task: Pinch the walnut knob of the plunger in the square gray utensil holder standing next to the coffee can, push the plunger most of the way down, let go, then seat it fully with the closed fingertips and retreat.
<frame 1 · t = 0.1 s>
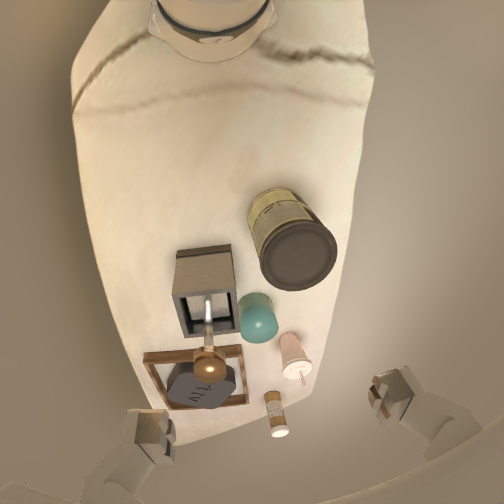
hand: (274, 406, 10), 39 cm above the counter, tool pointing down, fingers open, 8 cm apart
wooden square frame: (200, 377, 68), on the counter
streaming box: (199, 375, 68), resting in wooden square frame
teal pillar candle: (254, 306, 58), on the counter
coffee can: (277, 215, 49), on the counter
square gray utensil holder: (207, 270, 52), on the counter
smoothie: (287, 337, 64), on the counter
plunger: (208, 332, 39), point 16 cm above the counter, slide at 0.0 cm
sprinkles bottle: (271, 394, 76), on the counter
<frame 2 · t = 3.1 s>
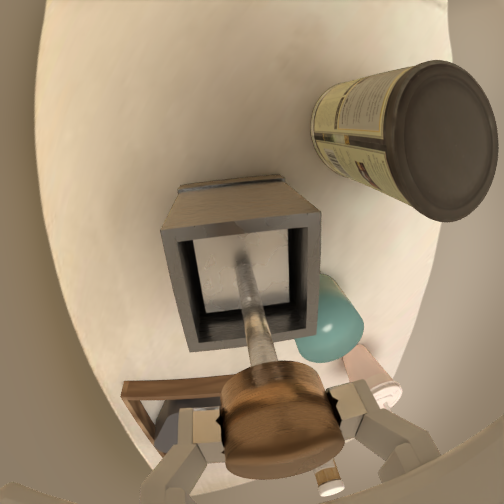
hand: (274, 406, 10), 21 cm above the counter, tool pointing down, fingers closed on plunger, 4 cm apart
wooden square frame: (213, 420, 41), on the counter
streaming box: (205, 414, 41), resting in wooden square frame
teal pillar candle: (311, 299, 33), on the counter
coffee can: (356, 129, 26), on the counter
square gray utensil holder: (234, 226, 29), on the counter
smoothie: (353, 353, 39), on the counter
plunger: (257, 330, 14), point 16 cm above the counter, slide at 0.0 cm, touching gripper
sprinkles bottle: (315, 437, 48), on the counter
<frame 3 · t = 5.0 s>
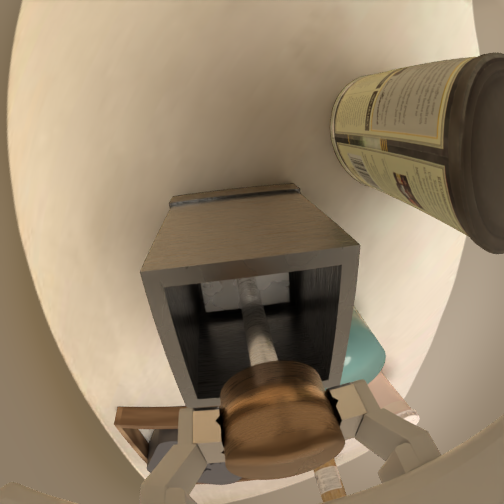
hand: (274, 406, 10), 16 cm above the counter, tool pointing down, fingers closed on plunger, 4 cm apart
wooden square frame: (215, 444, 37), on the counter
streaming box: (201, 437, 36), resting in wooden square frame
teal pillar candle: (325, 324, 29), on the counter
coffee can: (381, 130, 21), on the counter
square gray utensil holder: (238, 245, 24), on the counter
smoothie: (366, 376, 34), on the counter
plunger: (257, 329, 14), point 11 cm above the counter, slide at 5.0 cm, touching gripper
sprinkles bottle: (321, 455, 44), on the counter
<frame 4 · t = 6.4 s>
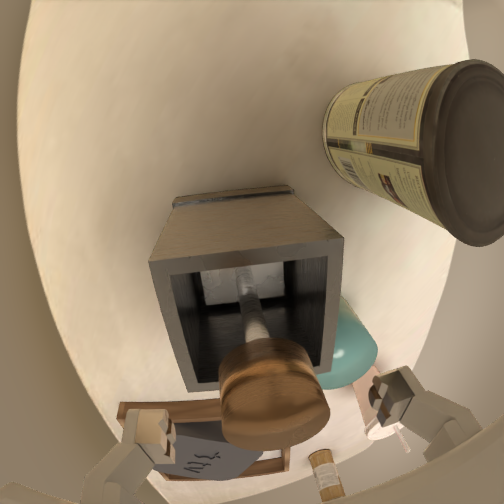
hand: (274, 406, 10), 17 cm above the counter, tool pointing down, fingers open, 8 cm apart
wooden square frame: (214, 440, 38), on the counter
streaming box: (201, 433, 38), resting in wooden square frame
teal pillar candle: (320, 320, 30), on the counter
coffee can: (371, 134, 23), on the counter
square gray utensil holder: (237, 243, 26), on the counter
smoothie: (362, 372, 35), on the counter
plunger: (252, 316, 16), point 11 cm above the counter, slide at 5.0 cm
sprinkles bottle: (319, 453, 45), on the counter
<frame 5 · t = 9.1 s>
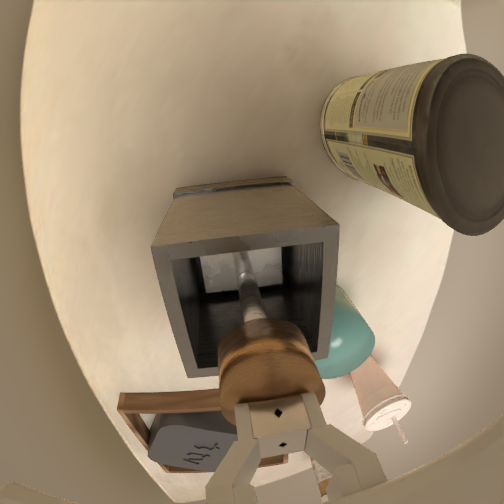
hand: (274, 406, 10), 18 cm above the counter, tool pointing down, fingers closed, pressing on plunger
wooden square frame: (214, 431, 39), on the counter
streaming box: (201, 424, 39), resting in wooden square frame
teal pillar candle: (318, 310, 31), on the counter
coffee can: (369, 127, 23), on the counter
square gray utensil holder: (236, 233, 26), on the counter
smoothie: (360, 363, 36), on the counter
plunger: (251, 301, 16), point 11 cm above the counter, slide at 5.1 cm, touching gripper
sprinkles bottle: (318, 445, 46), on the counter
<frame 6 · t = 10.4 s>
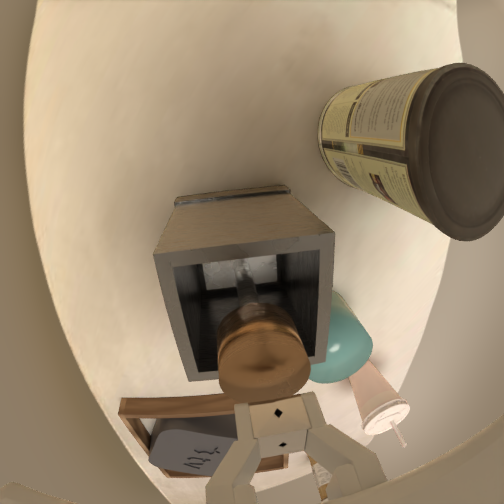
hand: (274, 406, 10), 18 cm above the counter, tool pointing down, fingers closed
wooden square frame: (214, 436, 39), on the counter
streaming box: (201, 429, 38), resting in wooden square frame
teal pillar candle: (317, 316, 31), on the counter
coffee can: (365, 136, 24), on the counter
square gray utensil holder: (236, 241, 27), on the counter
smoothie: (359, 368, 36), on the counter
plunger: (247, 293, 18), point 9 cm above the counter, slide at 6.6 cm, touching square gray utensil holder
sprinkles bottle: (318, 450, 46), on the counter
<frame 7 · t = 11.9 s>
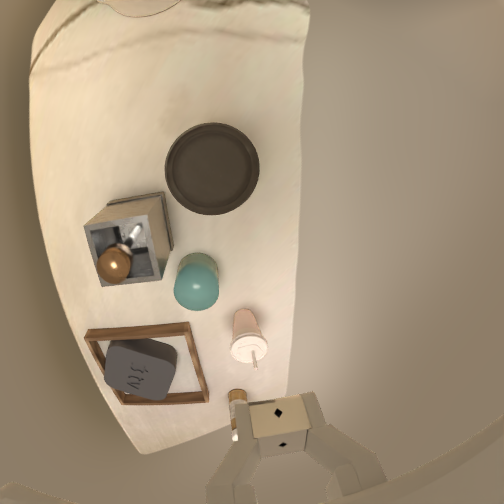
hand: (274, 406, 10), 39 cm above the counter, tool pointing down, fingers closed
wooden square frame: (150, 365, 58), on the counter
streaming box: (141, 358, 58), resting in wooden square frame
teal pillar candle: (197, 271, 50), on the counter
coffee can: (212, 157, 43), on the counter
square gray utensil holder: (141, 223, 46), on the counter
smoothie: (243, 316, 56), on the counter
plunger: (127, 244, 37), point 9 cm above the counter, slide at 6.6 cm, touching square gray utensil holder
sprinkles bottle: (237, 393, 65), on the counter
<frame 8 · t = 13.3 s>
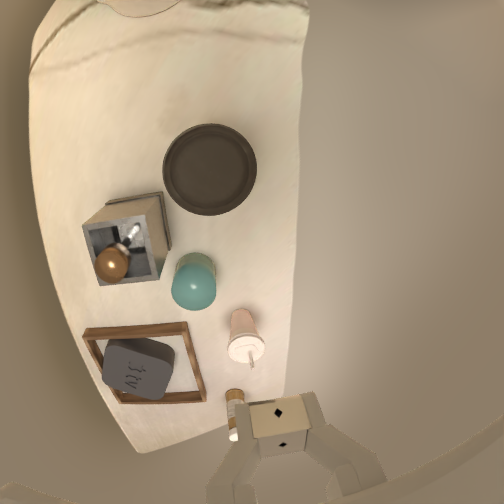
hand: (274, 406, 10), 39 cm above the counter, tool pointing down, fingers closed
wooden square frame: (148, 364, 58), on the counter
streaming box: (139, 358, 58), resting in wooden square frame
teal pillar candle: (195, 271, 51), on the counter
coffee can: (211, 157, 43), on the counter
square gray utensil holder: (140, 223, 46), on the counter
smoothie: (241, 316, 56), on the counter
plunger: (125, 244, 37), point 9 cm above the counter, slide at 6.6 cm, touching square gray utensil holder
sprinkles bottle: (234, 393, 66), on the counter
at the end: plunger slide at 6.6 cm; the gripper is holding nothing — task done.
